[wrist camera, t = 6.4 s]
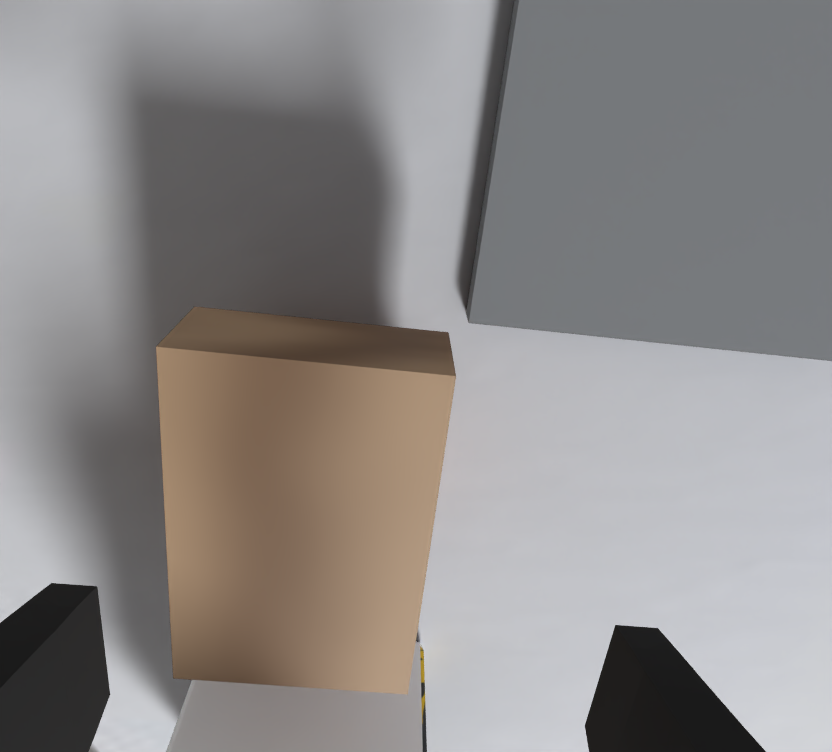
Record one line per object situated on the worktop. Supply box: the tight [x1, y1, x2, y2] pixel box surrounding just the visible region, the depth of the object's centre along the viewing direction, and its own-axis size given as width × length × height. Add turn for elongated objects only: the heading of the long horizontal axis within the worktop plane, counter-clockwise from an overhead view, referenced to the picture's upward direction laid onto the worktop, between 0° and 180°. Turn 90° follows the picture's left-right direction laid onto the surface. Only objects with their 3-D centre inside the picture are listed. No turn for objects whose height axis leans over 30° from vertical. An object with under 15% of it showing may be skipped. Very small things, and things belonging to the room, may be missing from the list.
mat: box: [466, 0, 832, 361], centre depth 15 cm, size 10×10×1 cm
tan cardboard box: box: [156, 307, 456, 695], centre depth 15 cm, size 6×8×2 cm, turn 173°
